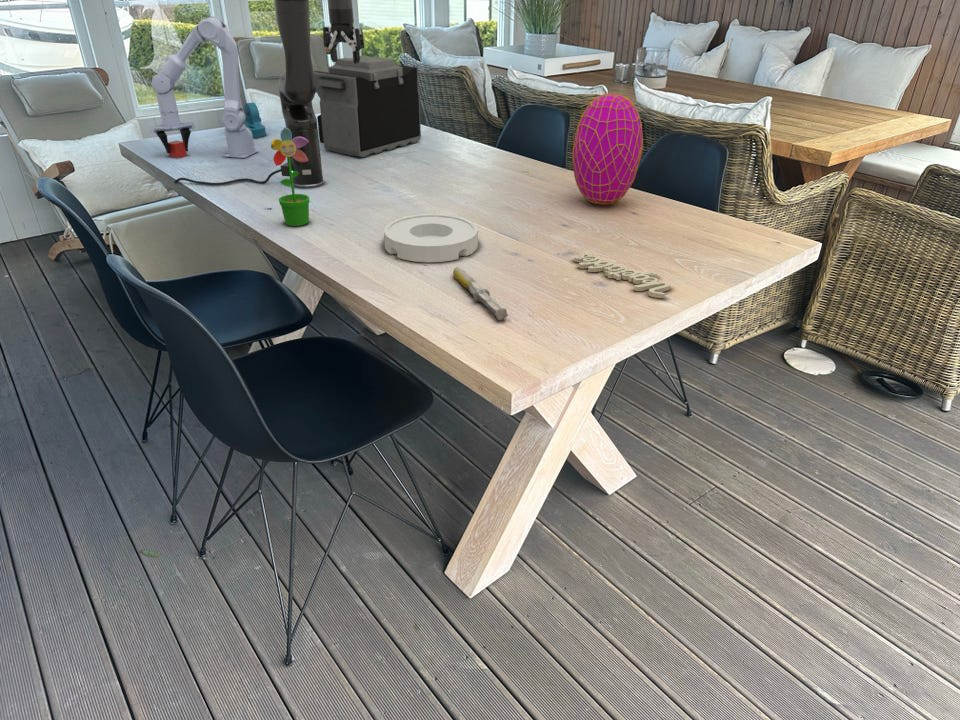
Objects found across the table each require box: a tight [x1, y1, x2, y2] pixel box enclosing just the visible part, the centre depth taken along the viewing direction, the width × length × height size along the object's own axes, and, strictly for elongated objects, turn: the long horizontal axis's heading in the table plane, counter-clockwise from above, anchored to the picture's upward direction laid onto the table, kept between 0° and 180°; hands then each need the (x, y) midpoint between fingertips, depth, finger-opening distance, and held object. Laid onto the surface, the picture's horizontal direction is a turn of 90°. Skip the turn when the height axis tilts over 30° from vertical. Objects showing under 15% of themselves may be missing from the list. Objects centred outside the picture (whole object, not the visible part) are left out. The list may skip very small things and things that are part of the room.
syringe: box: [452, 266, 509, 321], centre depth 145 cm, size 25×4×3 cm, turn 21°
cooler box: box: [313, 55, 422, 159], centre depth 250 cm, size 37×22×30 cm, turn 144°
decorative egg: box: [571, 92, 644, 205], centre depth 194 cm, size 19×19×30 cm
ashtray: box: [383, 213, 479, 263], centre depth 170 cm, size 23×23×4 cm
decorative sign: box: [574, 252, 671, 299], centre depth 155 cm, size 26×1×10 cm
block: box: [168, 140, 188, 159], centre depth 241 cm, size 4×4×5 cm
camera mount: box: [243, 102, 267, 139], centre depth 271 cm, size 18×10×10 cm, turn 35°
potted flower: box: [270, 127, 310, 227], centre depth 177 cm, size 9×8×25 cm
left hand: (177, 151), depth 242 cm, fingers closed on block, 5 cm apart
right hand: (345, 62), depth 225 cm, fingers open, 8 cm apart
